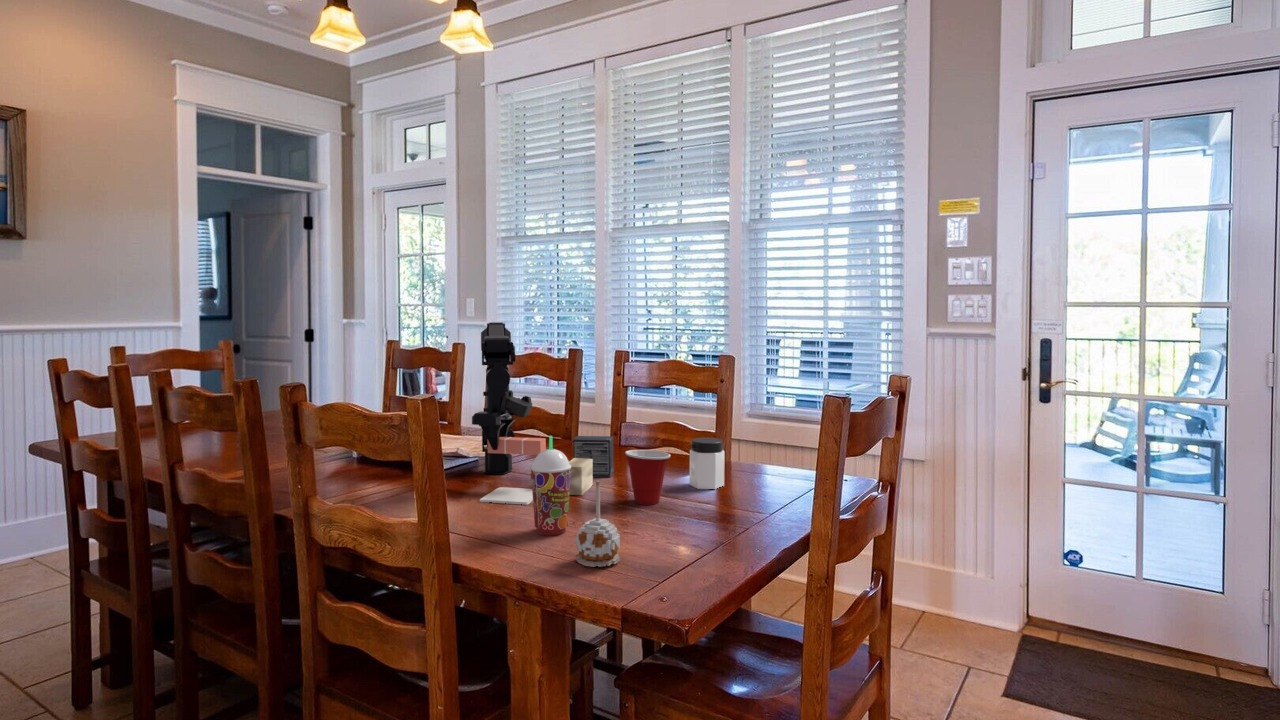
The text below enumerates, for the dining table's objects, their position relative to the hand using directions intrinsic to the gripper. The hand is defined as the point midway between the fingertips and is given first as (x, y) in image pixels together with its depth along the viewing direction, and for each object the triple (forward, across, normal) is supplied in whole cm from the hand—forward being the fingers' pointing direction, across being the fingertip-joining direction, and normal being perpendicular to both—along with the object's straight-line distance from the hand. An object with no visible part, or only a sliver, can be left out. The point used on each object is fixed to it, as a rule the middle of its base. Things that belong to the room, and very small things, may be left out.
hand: (498, 448), depth 185 cm
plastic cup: (+11, -4, -39) cm, 41 cm away
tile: (+10, -7, -6) cm, 14 cm away
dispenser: (+10, +3, -17) cm, 20 cm away
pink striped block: (+1, 0, -5) cm, 5 cm away
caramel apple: (+12, -46, -38) cm, 61 cm away
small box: (+10, +20, -20) cm, 30 cm away
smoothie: (+11, -31, -24) cm, 41 cm away
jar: (+11, +14, -52) cm, 54 cm away
